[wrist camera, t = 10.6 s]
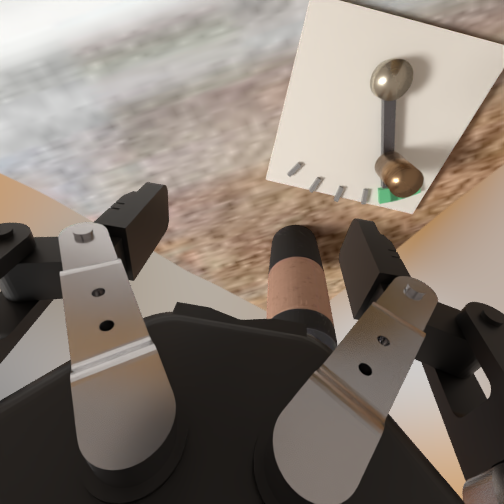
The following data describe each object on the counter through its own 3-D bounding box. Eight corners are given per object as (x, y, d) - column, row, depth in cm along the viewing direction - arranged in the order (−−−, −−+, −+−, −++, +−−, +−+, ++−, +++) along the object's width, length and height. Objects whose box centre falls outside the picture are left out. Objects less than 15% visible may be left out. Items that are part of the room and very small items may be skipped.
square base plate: (310, -5, 28) (312, -9, 26) (506, 48, 29) (521, 48, 27) (265, 179, 39) (264, 185, 37) (406, 212, 40) (412, 219, 38)
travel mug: (326, 248, 45) (352, 358, 29) (287, 269, 48) (290, 378, 32) (301, 214, 42) (314, 316, 26) (260, 238, 45) (249, 343, 29)
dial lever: (369, 64, 29) (391, 67, 23) (406, 54, 28) (438, 54, 22) (370, 187, 36) (387, 212, 31) (400, 181, 36) (423, 205, 30)
